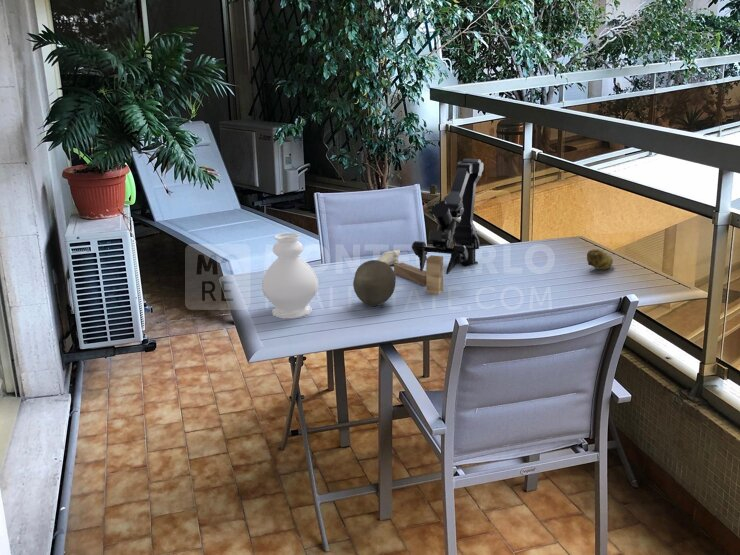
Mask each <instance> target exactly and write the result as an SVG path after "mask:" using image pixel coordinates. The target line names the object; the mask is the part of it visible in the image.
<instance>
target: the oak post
mask: <svg viewBox="0 0 740 555" xmlns="http://www.w3.org/2000/svg"><path fill="white" fill-rule="evenodd" d="M425 266H426V267H425V268H426V270H425V271H426V285H425V286H426V289H425V290H426V293H427V294H433V295H440V294H441V293H442V292H443V291H444V256H441V255H434V254H433V255H429V256H428V257H427V258H426V262H425Z"/></svg>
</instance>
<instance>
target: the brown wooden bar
mask: <svg viewBox="0 0 740 555" xmlns="http://www.w3.org/2000/svg"><path fill="white" fill-rule="evenodd" d="M393 271H394V273H395V276H396V275H397V276H399V277H402V278H404V279H407V280H409V281H411V282H414V283H417V284H419V285H422V286H426V270H424V269H423V270H422V271H420V267H419V268H418V267H416V266H413V265H410V264H408V263H406V262H399V263H398V264H394V265H393Z"/></svg>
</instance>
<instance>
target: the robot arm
mask: <svg viewBox="0 0 740 555" xmlns="http://www.w3.org/2000/svg"><path fill="white" fill-rule="evenodd" d="M483 171H484V162H482V161H481V159H480V158H478V159H477V158H463V160H462V161H458V162H457V164H456V173H455V175H454V178H453V182H452V185H451V188H450V189H449V190H450V191H449V193H448V194H447V195H446V196H444V197H443V200H441V199H440V200H439V202H437V203H436V204H435V205H433V207H431V214H432V216H433V218H434V220H435V223H436V224H437V229H436V230H432V229H431V230H429V234H428V240H429V241H430V244H431V245H432V246H431V245H430V246H429V245H427V244H426V243H425V241H419V240H414V242H413V243H412V245H411V249H412V251H413V253H414V255H416V256H417V258H418V260H419V269H420V271H422V270H424V269H425V266H426V259H427V258H428V257H427V255H428V253H437V254H447V255H450V258H449V261H448V264H447V267H446V271H445V273H446V275H449V274H450V273H451V272H452V270H453V269H454V268H455V267H456V266H457V265H461V266H462V267H463V266H464V267H469V266H472V265H477V264H478V263H479V261H476V250H479V249H480V239H479V237H478V234H477V228H476V226H475V224H474V222H473V221H474V211H475V203H476V202H475V200H476V188H477V183H478V182H479V180H480V179H481V177H482V173H483ZM458 218H460V220H459V222H458V224H457V221H456V220H455V219H458ZM452 243H453V247H452V248H451V244H452Z"/></svg>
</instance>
